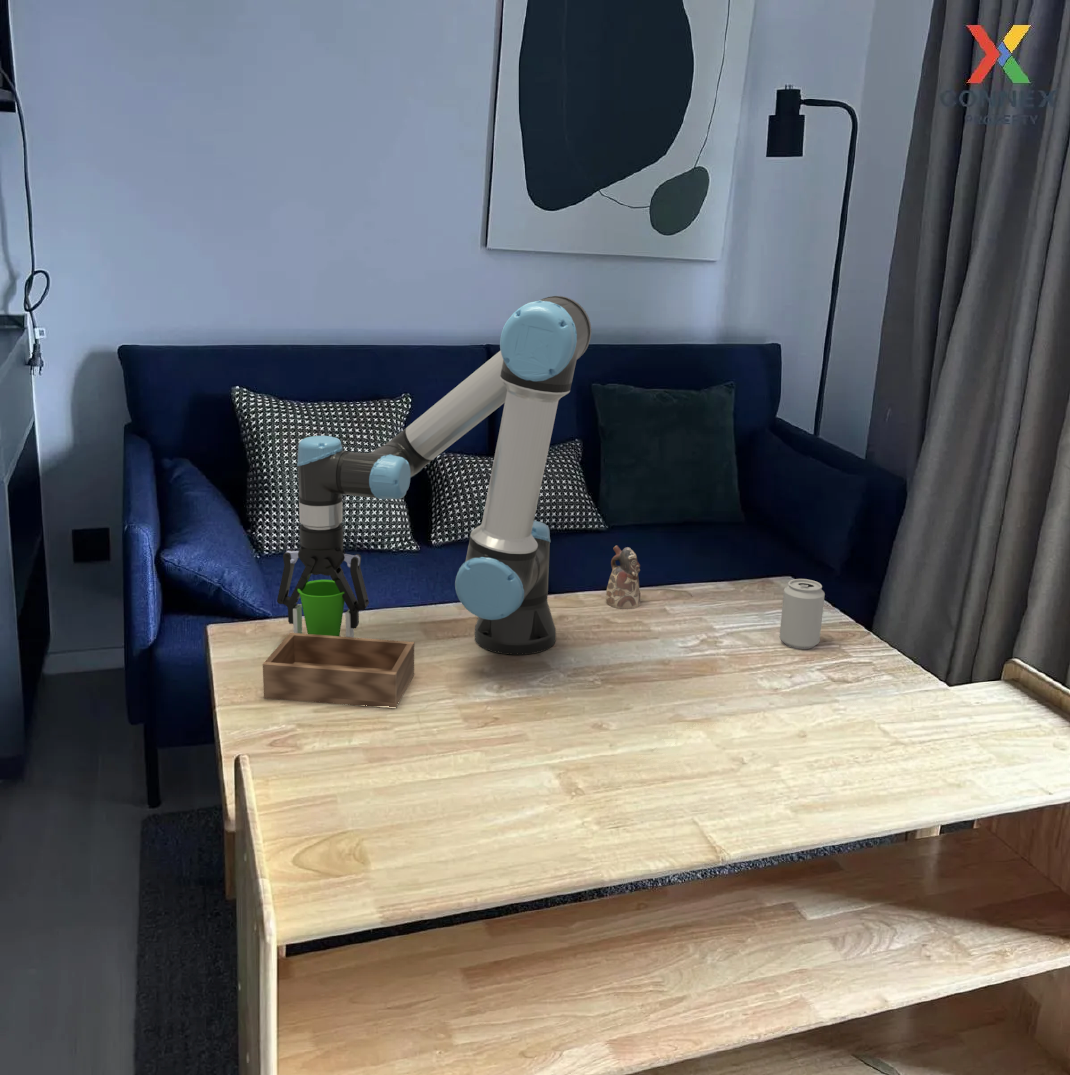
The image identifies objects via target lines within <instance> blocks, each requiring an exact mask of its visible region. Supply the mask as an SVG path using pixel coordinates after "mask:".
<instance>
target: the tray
mask: <svg viewBox="0 0 1070 1075" xmlns="http://www.w3.org/2000/svg"><path fill="white" fill-rule="evenodd" d="M414 675H415V641H406V640H405V641H404V640H392V639H391V640H390V639H380V638H379V639H378V638H368V637H367V638H364V637H355V636H354V637H346V636H328V635H314V634H308V633H302V634H301V633H294V632H289V633H288V634H287V636H286V637H284V639H283V640H282V641H281V642H280V644H279V645H278V646H277V647H276V648H275V649H274V650H273V652H272V653H271V654H270V655H269V656H268V657H267V659H265V661H264V662H263V663H262V683H263V684H262V685H263V687H262V688H263V698H264V699H272V700H281V701H282V700H283V701H296V702H306V703H307V702H308V703H309V702H310V703H317V704H318V703H321V704H331V705H332V704H333V705H343V704H344V705H345V704H348V705H347V706H355V705H365V706H364V707H367V706H389V707H396V706H397V707H398V705H399V703H400V701H401V700H402V698H403V696H404V694H405V692H406V690H407V688H409V687H408V686H410V683H411V681H412V679H413V677H414ZM400 699H401V700H400ZM398 702H399V703H398ZM349 704H350V705H349ZM397 704H398V705H397ZM344 705H343V706H344ZM366 705H367V706H366ZM345 706H346V705H345ZM397 707H396V708H397Z"/></svg>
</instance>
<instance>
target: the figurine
mask: <svg viewBox="0 0 1070 1075" xmlns="http://www.w3.org/2000/svg"><path fill="white" fill-rule="evenodd" d="M613 551H614V552H615V555H614V556H613V557H612V558H611V561H610V566H611V569H612V570H611V573H610V576H609V579H608V583H607V586H606V593H605V602H606V604H607V605H608V606H609V607H611V608H614V609H620V610H626V609H627V610H628V609H629V610H630V609H637V608H638V607H640V606H641V591H640V580H639V573H640V571H641V569H640V568H641V564H640V563H639V561H638V557H637V554H636V552H635V551H634V549H631V547H628V546H627V547H626V546H625V547H624V548H623V549H622V550H621V548H620V547H619V545H615V546H614V547H613ZM616 561H618V562H619V565H617V563H616Z"/></svg>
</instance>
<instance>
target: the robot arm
mask: <svg viewBox="0 0 1070 1075" xmlns="http://www.w3.org/2000/svg"><path fill="white" fill-rule="evenodd" d="M591 338H592V325H591V320H590V317H589V315H588V313H587V312H586V310H585V309H584V308H583V307H582V306H581V305H580V304H579V303H578V302H577V301H575V300H574V299H572V298H569V297H566V296H562V295H551V296H548V297H544V298H542V299H540V300H536V301H531V302H528V303H525V304H524V305H522V306H521V307H519V308H518V309H516V310H515V311H514V312H513V313H512V314H511V316H510V317H509V318H508V319H507V320H506V322H505V324H504V325H503V328H502V331H501V334H500V339H499V348H500V350H499V351H498V352H496V353H495V354H494V355H493V356H492V357H491V358H490V359H488V360H487V361H485V363H483V364H482V365H481V366H480V367H478V368H477V369H475V371H473V373H471V374H470V375H469V376H467V377H466V378H465V379H464V380H463V381H461V382H460V383H458V385H457V386H456V387H454V388H453V389H452V390H450V391H449V392H448V393H446V395H444V396H443V397H442V398H441V399H439V400H438V401H437V402H436V403H434V405H432V406H431V407H430V408H428V409H427V410H426V411H425V412H424V413H423V414H420V416H419V417H417V418H416V419H415V420H414V421H413V422H412V423H410V424H409V425H408V426H407V427H405V428H403V430H402V431H400V432H399V433H398V434H397V435H395V436H394V437H393V438H391V439H390V440H389V441H388V442H386V443H385V444H384V445H381V446H380V447H378V448H377V449H375V450H373V451H371V452H368V453H367V452H365V453H364V452H352V451H347V450H343V446H342V442H341V439H339V438H338V437H335V436H330V435H315V436H312V435H311V436H308V437H305V438H302V439H301V440H300V441H299V443H298V446H297V448H298V450H297V453H298V454H297V463H296V466H297V471H298V472H297V473H298V475H297V476H298V491H299V492H298V493H299V494H298V495H299V497H298V500H299V501H298V502H299V503H298V507H299V508H298V509H299V511H298V512H299V515H298V517H299V523H300V524H301V525H300V526H299V537H300V538H299V541H300V542H299V544H300V548H299V549H298V550H296V551H295V550H293V549H291V548H290V549H288V550H286V551H285V552H284V553H283V555H282V559H283V570H282V575H281V580H280V585H279V588H278V589H279V590H278V595H277V601H276V602H277V603H278V605H284V606H286V607H287V621H288V623H289V624H291V625H292V627H293V628H292V629H293V633H301V634H303V608H302V603H300V604H299V603H298V602H299V599H301V597H300V593H299V592H298V591H297V589H300V590H301V591H302V590H303V589H304V588H305V586H306V584H307V582H309V580H310V578H311V576H312V575H315V576H318V575H319V576H320V575H322V576H326V577H327V576H328V577H329V576H330V579H331V580H333V581H334V582H335V584H336V586H337V587H338V589H339V591H340V593H342V592H344V594H343V595H342V597H343V599H344V601H345V602H344V604H346V607H347V610H346V612H345V637H354V638H355V629H357V628H358V626H359V624H360V612H359V611H364V610H366V609H367V607H368V606H369V603H370V600H369V597H368V593H367V589H366V585H365V580H364V576H363V573H362V568H361V561H362V556H361V555H360V553H356V554H354V555H353V554H349V553H346V551H345V549H344V526H343V524H342V522H343V520H344V519H343V518H344V517H343V495H345V496H347V495H348V496H356V497H363V498H371V499H372V498H374V499H378V500H384V501H386V500H400V499H402V498H404V497H405V496H406V494H407V491H408V490H409V487H410V483H411V478H413V477H415V476H416V475H417V474H418V473H420V472H421V471H422V470H423V468H424V467H425V466H426V465H429V463H431V462H432V461H433V460H434V459H435V458H437V457H438V456H439V455H440V454H442V453H443V452H444V451H445V450H447V449H448V448H449V447H450V446H452V445H453V444H454V443H455V442H457V441H458V440H459V439H461V438H462V437H463V436H464V435H467V433H469V431H471V430H472V429H473V428H475V427H476V426H477V425H478V424H480V423H482V421H484V420H485V419H486V418H487V417H488V416H490V415H491V414H492V413H493V412H495V411H496V410H497V409H498V408H500V407H501V406H502V405H503V410H502V416H501V421H500V426H499V432H498V436H497V442H496V446H495V451H494V452H495V453H494V458H493V463H492V468H491V472H490V473H491V474H490V479H489V484H488V490H487V494H486V499H485V505H484V511H483V517H482V521H481V524H480V525H478V526H476V527H475V528H474V529H472V530H471V532H470V536H469V542H468V546H467V552H466V557H465V561H464V562H463V563H462V564H461V566H460V567H459V568H458V571H457V573H456V576H455V582H454V587H455V593H456V596H457V598H458V600H459V602H460V603H461V604H462V606H463V607H464V608H465V609H466V610H467V611H468V612H469V613H470V614H472V615H474V616H475V617H478V618H477V620H476V623H475V626H474V641H475V643H476V644H477V645H478V646H479V647H481V648H482V649H484V650H487V651H489V652H490V651H491V652H493V653H498V654H503V655H516V656H517V655H532V654H537V653H541V652H544V651H546V650H548V649H551V648H552V647H553V646H554V645H555V644H556V637H557V636H556V635H557V633H556V631H557V630H556V626H555V622H554V619H553V616H552V612H551V608H550V606H549V602H548V600H549V599H548V596H549V594H548V593H549V592H548V591H549V570H550V568H549V567H550V543H551V537H550V535H551V534H550V528H549V526H548V525H547V524H545V523H544V522H541V521H537V520H535V516H536V512H537V507H538V503H539V498H540V492H541V488H542V483H543V477H544V472H545V470H546V469H545V468H546V464H547V459H548V454H549V453H548V452H549V449H550V444H551V438H552V434H553V429H554V426H555V425H554V424H555V419H556V414H557V409H558V405H559V401H560V400H561V398H563V397H565V396H566V395H568V394H569V393H570V392H571V388H572V383H573V378H574V374H575V368H576V364H577V360H578V359H580V358H581V356H583V355H584V353H586V351H587V349H588V347H589V345H590V342H591ZM426 467H427V466H426ZM298 559H299V560H300V561H301V563H302V565H303V566H304V569H303V571H302V573H301V576H300V578H299V579H298V581H297V584H296V585H295V588H294V589H293V591H292V593H291V595H289V593H290V588H291V583H292V578H293V574H294V569H295V564H296V563H297V561H298ZM344 562H345V563H346V564H347V567H348V568H349V571H350V576H351V581H352V584H353V589H354V592H355V593H354V592H353V589H352V587H351V586H350V584H349V582H348V580H347V578H346V576H345V573H344V569H343V567H342V566H341V565H342V563H344Z"/></svg>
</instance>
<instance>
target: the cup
mask: <svg viewBox="0 0 1070 1075" xmlns="http://www.w3.org/2000/svg"><path fill="white" fill-rule="evenodd" d="M297 591H298V592H299V593H300V601H301V604H302V614H303V617H304V623H305V627H306V632H307V633H306V634H314V635H328V636H340V634H341V629H342V623H343V622H342V621H343V615H344V609H345V601H344V599H343V597H342V595H343V594H344V592H342V593H340V591H339V589H338V587H337V586H336V584H335V582H334V581H333V580H332V579H314V580H310V581H309V580H308V582H307V584H306V586H305V588H304V589H303V590H302V591H301V590H300V589H297Z"/></svg>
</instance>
